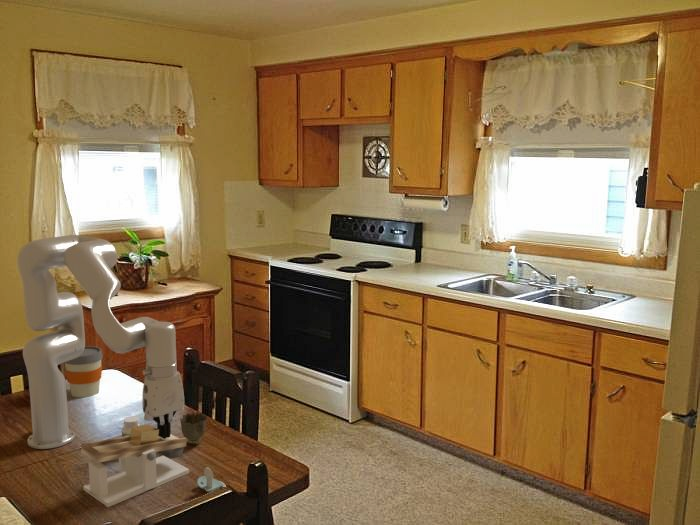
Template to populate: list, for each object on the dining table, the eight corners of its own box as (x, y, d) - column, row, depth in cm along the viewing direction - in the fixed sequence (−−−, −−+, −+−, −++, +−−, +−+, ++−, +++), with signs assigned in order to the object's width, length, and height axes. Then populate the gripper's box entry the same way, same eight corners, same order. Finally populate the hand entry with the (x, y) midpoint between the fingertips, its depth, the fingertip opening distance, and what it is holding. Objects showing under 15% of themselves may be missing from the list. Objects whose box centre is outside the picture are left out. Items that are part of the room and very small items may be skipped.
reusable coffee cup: (80, 402, 221) (77, 359, 218) (58, 394, 228) (55, 352, 225) (112, 391, 231) (109, 350, 229) (89, 383, 238) (87, 343, 235)
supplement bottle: (121, 456, 182) (119, 423, 181) (124, 448, 187) (122, 415, 186) (141, 455, 183) (139, 422, 181) (144, 447, 188) (142, 414, 187)
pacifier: (214, 480, 171) (194, 487, 166) (214, 457, 170) (194, 464, 165) (231, 490, 166) (211, 498, 161) (231, 466, 165) (211, 474, 160)
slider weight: (129, 441, 168) (131, 426, 168) (146, 439, 172) (148, 424, 172) (139, 447, 165) (141, 432, 165) (157, 444, 169) (159, 429, 169)
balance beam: (95, 475, 155) (98, 453, 155) (79, 464, 160) (81, 443, 160) (184, 457, 174) (187, 438, 174) (167, 448, 179) (169, 429, 179)
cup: (200, 450, 187) (200, 423, 185) (176, 447, 188) (175, 421, 187) (211, 438, 194) (210, 413, 193) (188, 436, 195) (187, 411, 194)
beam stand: (110, 508, 156) (108, 469, 154) (81, 488, 165) (79, 451, 163) (191, 474, 173) (190, 438, 171) (161, 457, 182) (160, 423, 180)
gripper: (144, 380, 162) (146, 450, 165) (194, 366, 173) (196, 431, 177) (127, 373, 167) (130, 441, 170) (177, 360, 178) (180, 424, 181)
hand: (164, 436), depth 173 cm, fingers closed
